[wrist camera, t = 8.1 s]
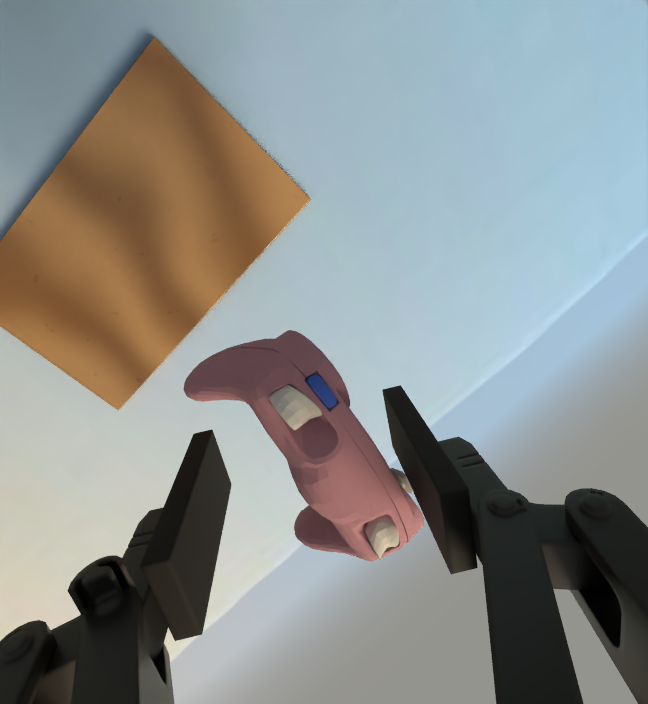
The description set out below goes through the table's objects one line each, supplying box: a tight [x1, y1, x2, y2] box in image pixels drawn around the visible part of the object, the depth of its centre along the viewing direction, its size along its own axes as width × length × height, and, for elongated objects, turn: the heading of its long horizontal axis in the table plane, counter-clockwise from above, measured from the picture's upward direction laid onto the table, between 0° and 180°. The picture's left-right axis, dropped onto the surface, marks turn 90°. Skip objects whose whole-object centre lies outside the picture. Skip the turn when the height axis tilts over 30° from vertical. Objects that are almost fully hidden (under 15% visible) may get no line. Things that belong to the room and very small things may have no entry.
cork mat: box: [0, 37, 311, 410], centre depth 26 cm, size 20×12×1 cm, turn 136°
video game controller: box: [184, 330, 424, 561], centre depth 16 cm, size 10×5×7 cm, turn 30°
